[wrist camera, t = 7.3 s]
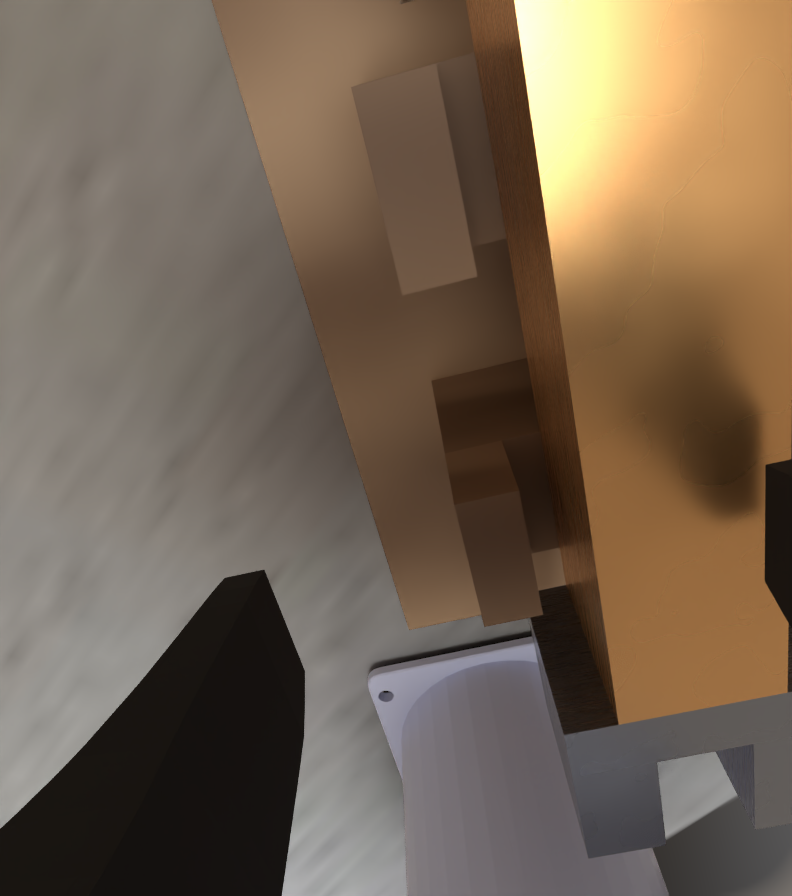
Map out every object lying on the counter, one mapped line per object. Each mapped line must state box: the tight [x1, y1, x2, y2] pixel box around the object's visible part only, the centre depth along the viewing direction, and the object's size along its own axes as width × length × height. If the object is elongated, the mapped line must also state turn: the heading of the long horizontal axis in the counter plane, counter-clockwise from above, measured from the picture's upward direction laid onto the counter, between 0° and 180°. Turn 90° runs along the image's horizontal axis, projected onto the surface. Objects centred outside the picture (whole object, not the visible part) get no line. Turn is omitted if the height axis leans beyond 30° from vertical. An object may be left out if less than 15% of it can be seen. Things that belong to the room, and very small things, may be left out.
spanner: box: [400, 0, 792, 859], centre depth 12 cm, size 20×5×4 cm, turn 14°
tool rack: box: [212, 0, 792, 630], centre depth 15 cm, size 20×12×7 cm, turn 14°
